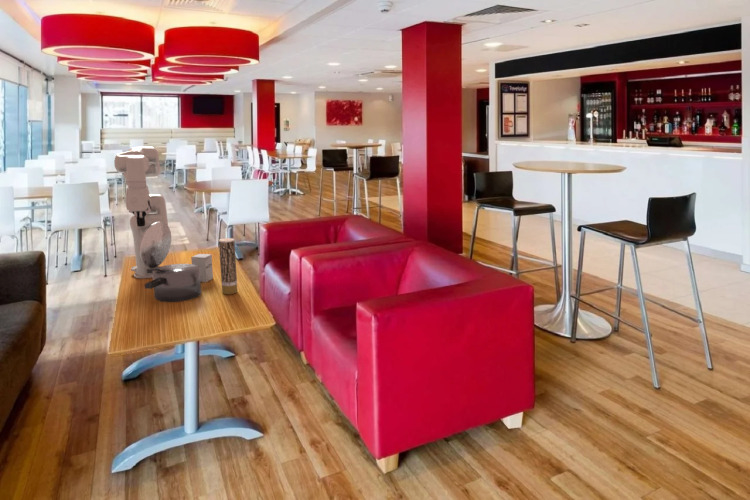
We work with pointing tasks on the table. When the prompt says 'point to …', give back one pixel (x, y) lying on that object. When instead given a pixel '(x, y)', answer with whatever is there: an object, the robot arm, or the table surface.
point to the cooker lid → (155, 244)
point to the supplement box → (204, 266)
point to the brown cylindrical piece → (228, 265)
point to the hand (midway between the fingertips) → (141, 225)
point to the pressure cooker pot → (175, 282)
